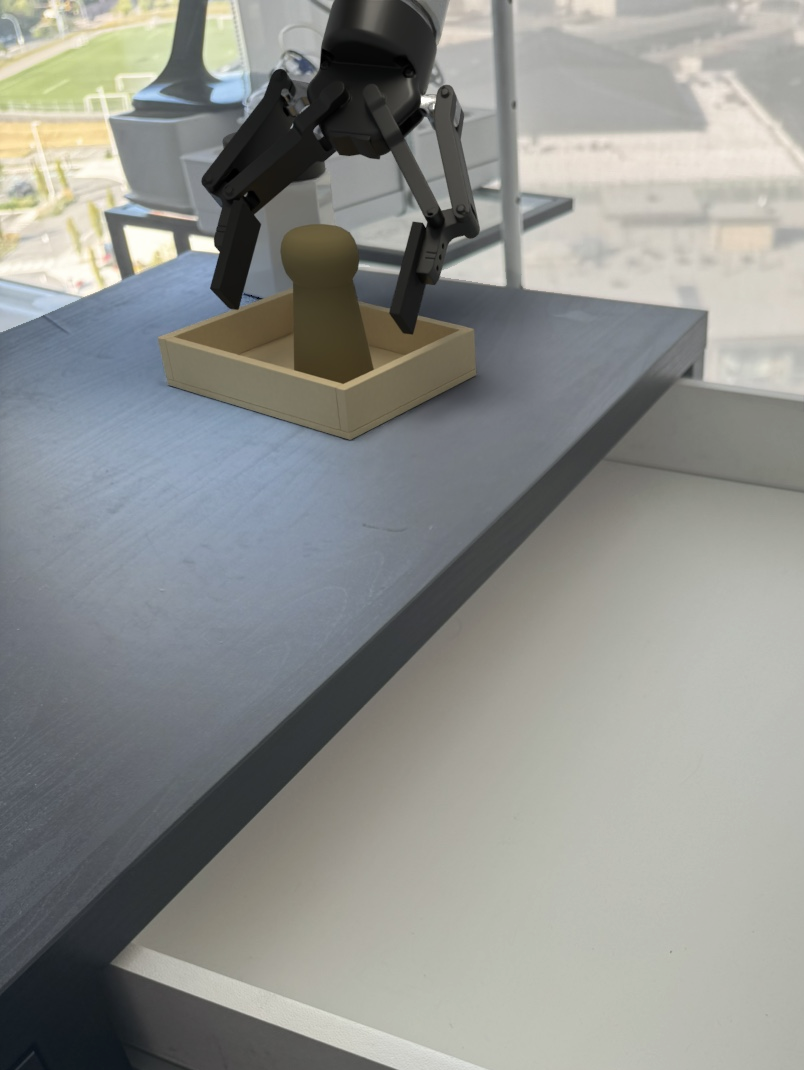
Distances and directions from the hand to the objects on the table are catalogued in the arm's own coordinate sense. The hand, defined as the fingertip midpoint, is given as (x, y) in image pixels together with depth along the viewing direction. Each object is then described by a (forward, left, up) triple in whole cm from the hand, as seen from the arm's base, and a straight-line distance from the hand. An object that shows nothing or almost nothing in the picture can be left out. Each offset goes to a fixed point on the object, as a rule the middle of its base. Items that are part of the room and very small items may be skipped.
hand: (311, 312), depth 80 cm
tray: (-3, +4, -7) cm, 8 cm away
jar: (-20, +19, -7) cm, 28 cm away
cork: (0, +2, -6) cm, 6 cm away
